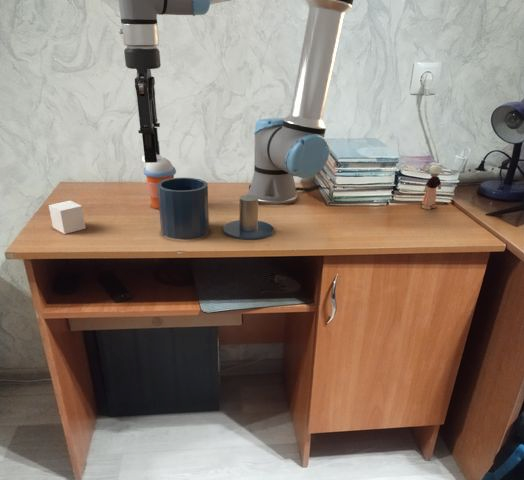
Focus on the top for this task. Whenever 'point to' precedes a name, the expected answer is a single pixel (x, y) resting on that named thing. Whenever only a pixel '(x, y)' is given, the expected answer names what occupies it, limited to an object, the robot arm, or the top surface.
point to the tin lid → (248, 221)
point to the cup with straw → (157, 177)
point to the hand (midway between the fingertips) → (152, 158)
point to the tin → (183, 208)
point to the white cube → (67, 216)
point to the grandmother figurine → (432, 187)
